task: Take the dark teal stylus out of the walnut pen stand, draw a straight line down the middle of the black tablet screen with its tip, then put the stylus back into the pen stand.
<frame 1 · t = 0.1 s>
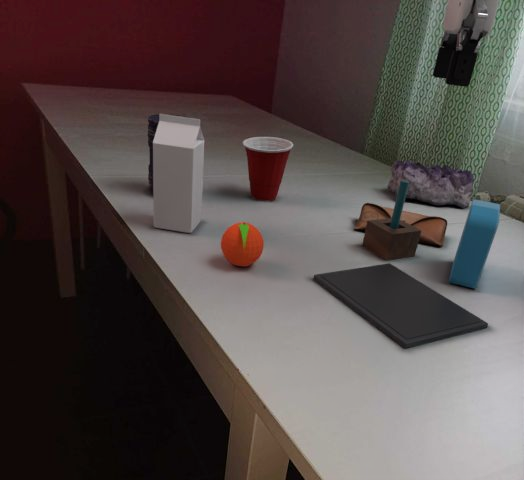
hand: (449, 81, 78), 30 cm above the table, tool pointing down, fingers open, 9 cm apart
tablet: (395, 302, 82), on the table
plastic cup: (262, 198, 121), on the table
clementine: (240, 266, 88), on the table
sunglasses case: (399, 234, 110), on the table
storage jar: (171, 193, 117), on the table
geode: (426, 200, 133), on the table
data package: (463, 276, 94), on the table
pen stand: (388, 251, 100), on the table
milk carton: (178, 225, 101), on the table
stylus: (396, 217, 97), in the pen stand
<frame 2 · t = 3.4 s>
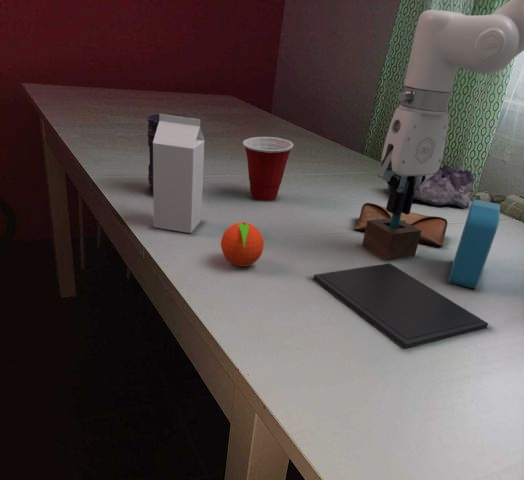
hand: (397, 211, 96), 8 cm above the table, tool pointing down, fingers closed on stylus, 1 cm apart
stylus: (396, 217, 97), in the pen stand, touching gripper
everything else where it was.
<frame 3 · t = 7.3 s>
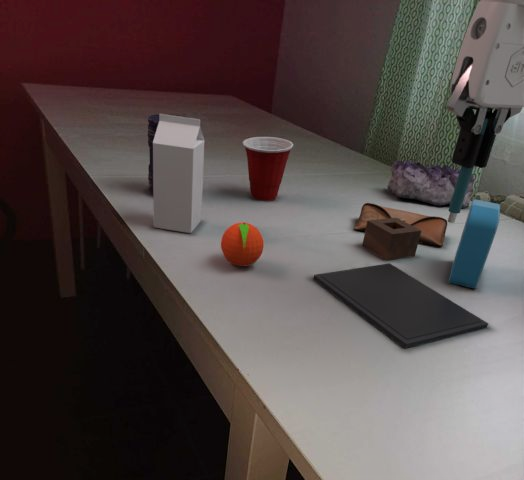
hand: (468, 164, 68), 22 cm above the table, tool pointing down, fingers closed on stylus, 1 cm apart
stylus: (465, 172, 68), point 21 cm above the table, touching gripper
everything else where it was.
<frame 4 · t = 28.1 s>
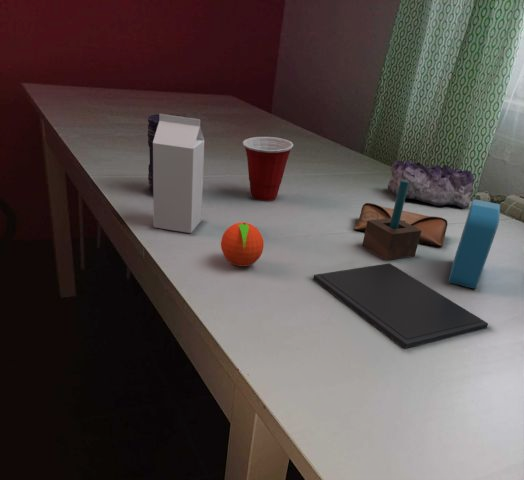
stylus: (396, 217, 97), in the pen stand
everything else where it was.
at the end: stylus 0.0 cm off-centre in the pen stand, point 6.5 cm above the pen stand's base; stylus tilted 0°; the gripper is holding nothing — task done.
